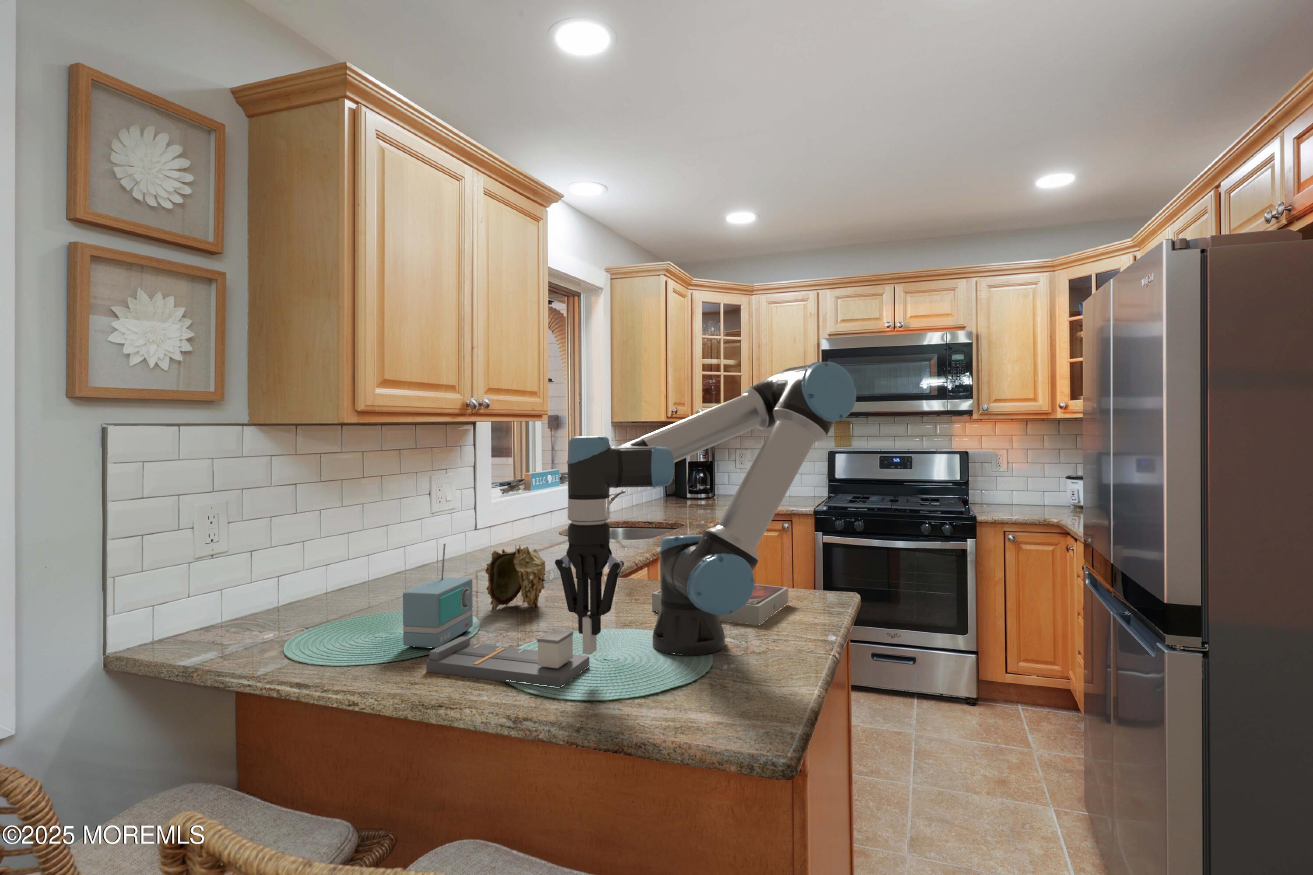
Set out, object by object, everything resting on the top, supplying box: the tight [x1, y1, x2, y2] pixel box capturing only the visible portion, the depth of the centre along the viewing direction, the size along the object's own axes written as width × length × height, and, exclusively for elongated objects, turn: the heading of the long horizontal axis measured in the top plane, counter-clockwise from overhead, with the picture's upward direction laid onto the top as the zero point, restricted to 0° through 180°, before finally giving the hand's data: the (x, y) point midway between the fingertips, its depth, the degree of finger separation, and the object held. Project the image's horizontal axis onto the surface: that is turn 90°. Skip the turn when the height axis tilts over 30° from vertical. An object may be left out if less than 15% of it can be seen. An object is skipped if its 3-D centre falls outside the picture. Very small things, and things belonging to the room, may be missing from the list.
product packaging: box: [651, 583, 789, 626], centre depth 175 cm, size 22×28×5 cm
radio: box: [402, 543, 474, 648], centre depth 149 cm, size 16×9×20 cm, turn 168°
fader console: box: [425, 636, 590, 687], centre depth 130 cm, size 28×12×4 cm, turn 71°
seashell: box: [484, 544, 547, 612], centre depth 175 cm, size 18×18×15 cm
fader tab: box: [536, 629, 574, 668], centre depth 127 cm, size 4×6×5 cm
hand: (589, 651), depth 124 cm, fingers closed
